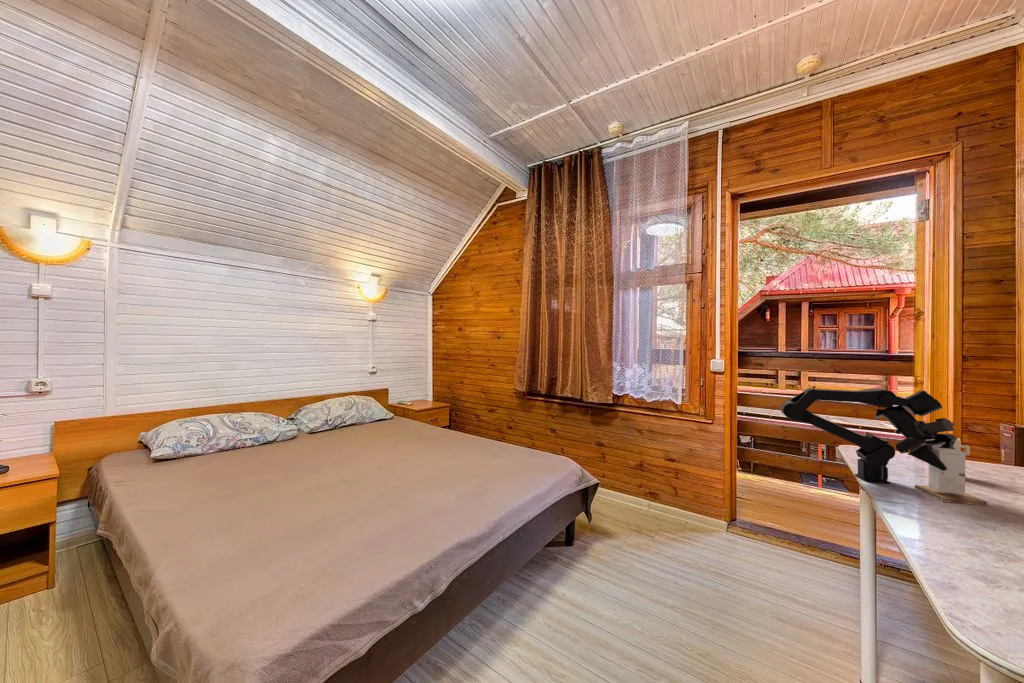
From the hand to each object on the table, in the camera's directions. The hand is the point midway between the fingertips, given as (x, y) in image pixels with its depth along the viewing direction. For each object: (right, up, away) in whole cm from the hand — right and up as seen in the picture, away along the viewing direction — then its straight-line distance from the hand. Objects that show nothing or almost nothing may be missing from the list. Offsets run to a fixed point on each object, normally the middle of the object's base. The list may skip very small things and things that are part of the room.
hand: (953, 468), depth 109 cm
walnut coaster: (+1, -9, +2) cm, 9 cm away
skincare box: (0, -7, +1) cm, 7 cm away
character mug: (+21, -9, +20) cm, 30 cm away
